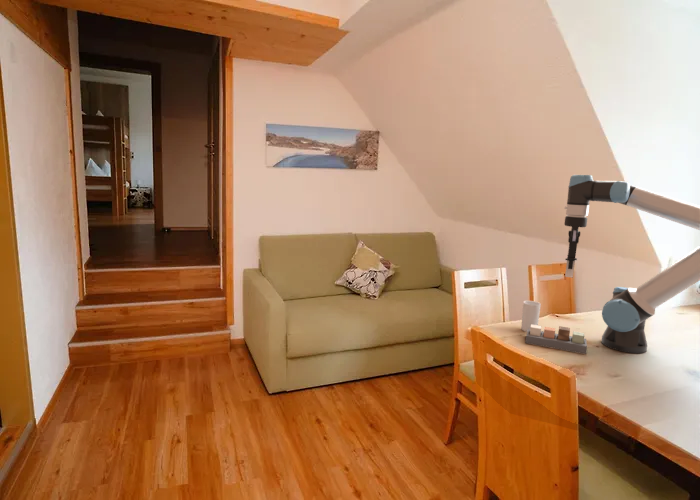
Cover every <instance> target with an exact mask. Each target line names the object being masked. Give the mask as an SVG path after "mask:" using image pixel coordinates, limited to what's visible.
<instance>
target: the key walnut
mask: <svg viewBox="0 0 700 500" xmlns="http://www.w3.org/2000/svg"><path fill="white" fill-rule="evenodd" d="M570 332H571V328H570V327H566V326H560V325H558V332H557V334H558V339H561V340H567V341H569V336H570V334H571V333H570Z"/></svg>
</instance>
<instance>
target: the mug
mask: <svg viewBox="0 0 700 500" xmlns="http://www.w3.org/2000/svg"><path fill="white" fill-rule="evenodd" d="M541 305H542V304H541V302H539V301H534V300H523V304H522V314H521V315H522V316H521V325H520V326H521V327H520V328H521V329H520V330H522V331H523V332H526V333H527V331H528V329H530V327H531V324H532V325H538V326H539V321H540V320H539V319H540V312H541Z"/></svg>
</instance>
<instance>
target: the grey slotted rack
mask: <svg viewBox="0 0 700 500" xmlns="http://www.w3.org/2000/svg"><path fill="white" fill-rule="evenodd" d="M572 336H573V335H569V341H567V340H561V339H558V333H555V336H554V339H553V338H547V337H544V330H543V331H542V330H541V335H540V336H536V335H530V329H528V331H527V332H526V335H525V344H529V345H534V346H540V347H546V348H550V349H555V350H562V351H568V352H573V353H577V354H583V355H587V349H588V343H587V338H585V337H584V344H581V343H575V342H572Z"/></svg>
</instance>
